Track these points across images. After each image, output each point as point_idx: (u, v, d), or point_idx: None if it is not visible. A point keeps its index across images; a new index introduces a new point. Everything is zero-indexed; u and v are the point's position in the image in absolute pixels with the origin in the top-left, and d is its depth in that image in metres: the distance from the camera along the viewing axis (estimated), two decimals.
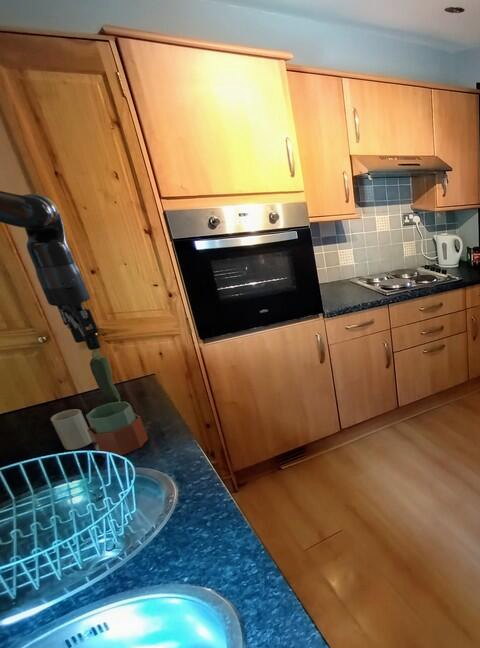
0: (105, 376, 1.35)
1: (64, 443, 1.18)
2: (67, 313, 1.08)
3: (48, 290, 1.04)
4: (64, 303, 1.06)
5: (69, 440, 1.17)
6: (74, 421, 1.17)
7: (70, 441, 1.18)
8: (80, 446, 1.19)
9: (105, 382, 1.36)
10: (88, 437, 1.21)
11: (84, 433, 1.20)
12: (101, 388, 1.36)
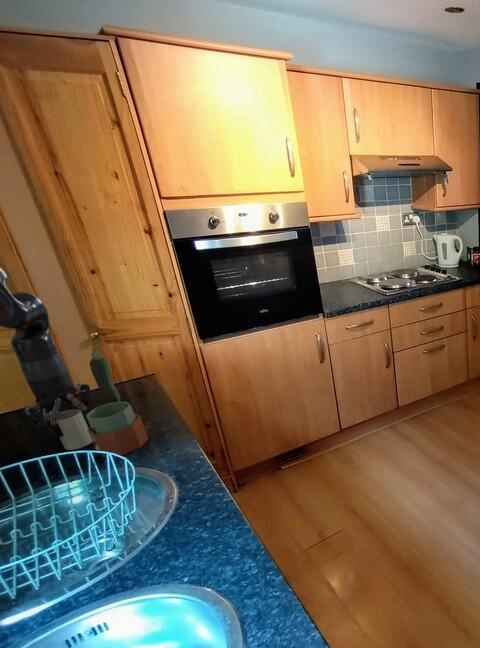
0: (105, 376, 1.35)
1: (64, 443, 1.18)
2: None
3: None
4: (32, 392, 1.12)
5: (69, 440, 1.17)
6: (74, 421, 1.17)
7: (70, 441, 1.18)
8: (80, 446, 1.19)
9: (105, 382, 1.36)
10: (88, 437, 1.21)
11: (84, 433, 1.20)
12: (101, 388, 1.36)
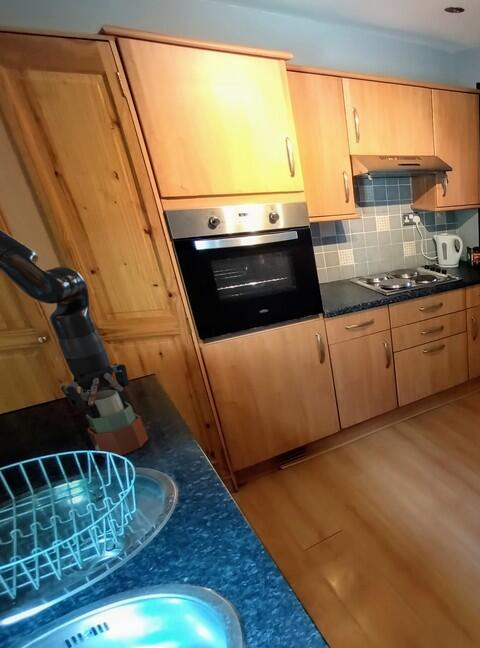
0: None
1: None
2: None
3: None
4: (70, 370, 1.08)
5: None
6: (112, 402, 1.14)
7: None
8: None
9: None
10: None
11: None
12: (101, 388, 1.36)
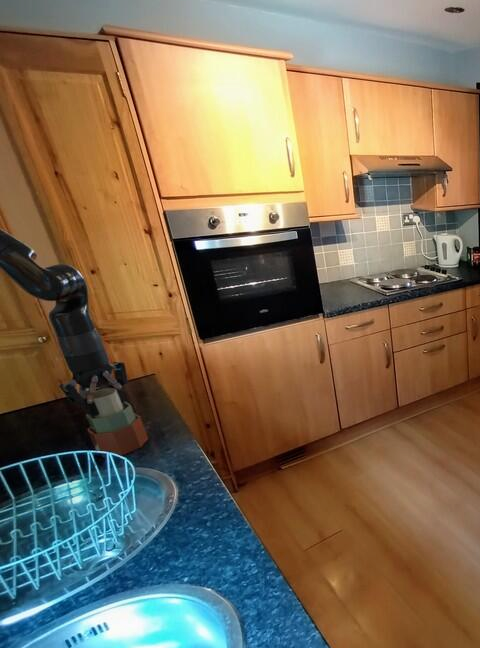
0: None
1: None
2: None
3: None
4: (69, 368, 1.08)
5: None
6: (111, 400, 1.14)
7: None
8: None
9: None
10: None
11: None
12: (101, 388, 1.36)
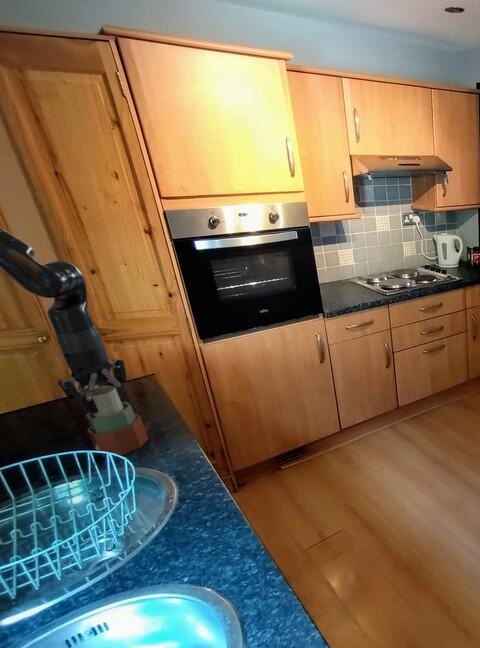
0: None
1: None
2: None
3: None
4: None
5: None
6: (109, 398, 1.13)
7: None
8: None
9: None
10: None
11: (119, 410, 1.16)
12: None
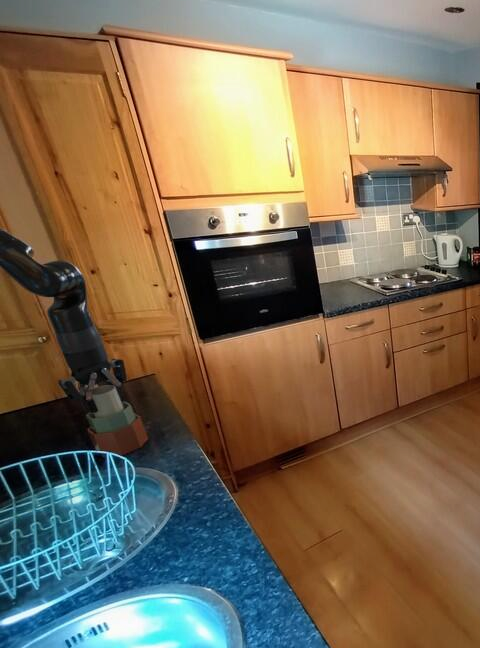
0: None
1: None
2: None
3: None
4: None
5: (103, 416, 1.14)
6: (109, 397, 1.13)
7: None
8: None
9: (105, 382, 1.36)
10: None
11: (119, 409, 1.16)
12: None
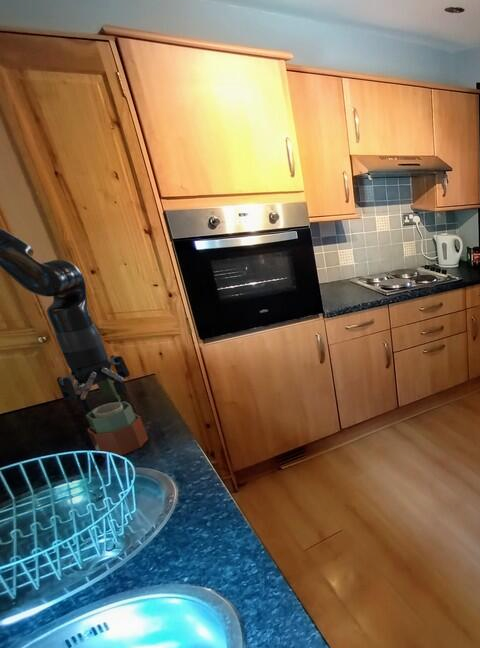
0: None
1: None
2: None
3: None
4: (67, 364, 1.08)
5: None
6: None
7: None
8: None
9: (105, 382, 1.36)
10: None
11: None
12: (101, 388, 1.36)
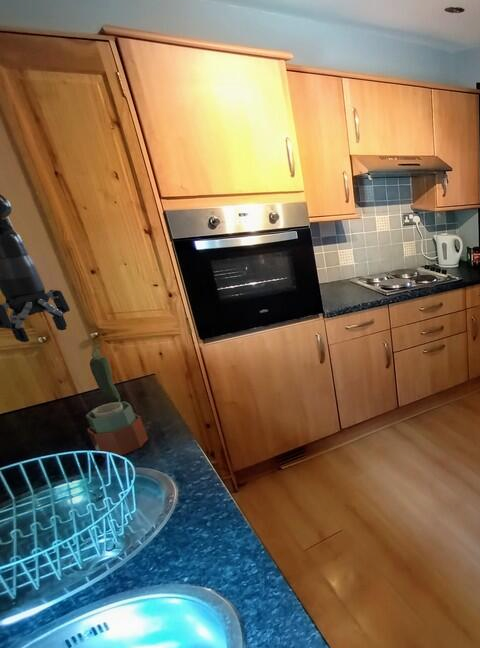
0: (105, 376, 1.35)
1: None
2: None
3: None
4: (2, 293, 1.10)
5: None
6: None
7: None
8: None
9: (105, 382, 1.36)
10: None
11: None
12: (101, 388, 1.36)
